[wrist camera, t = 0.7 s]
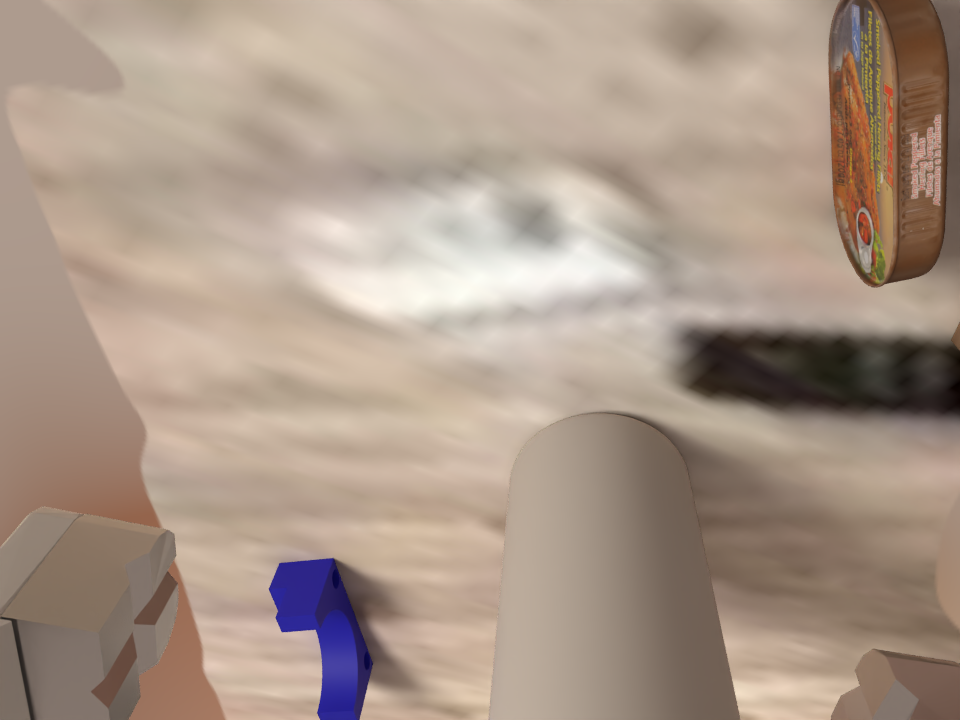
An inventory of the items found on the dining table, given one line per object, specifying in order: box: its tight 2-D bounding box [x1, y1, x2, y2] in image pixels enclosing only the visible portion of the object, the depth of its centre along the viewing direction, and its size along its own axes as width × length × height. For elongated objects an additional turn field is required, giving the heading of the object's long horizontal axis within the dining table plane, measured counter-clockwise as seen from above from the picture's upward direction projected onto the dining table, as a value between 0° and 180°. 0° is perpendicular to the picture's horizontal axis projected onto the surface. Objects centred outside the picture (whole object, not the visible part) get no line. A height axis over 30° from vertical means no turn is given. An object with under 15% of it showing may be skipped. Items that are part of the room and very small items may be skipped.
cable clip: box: [269, 558, 373, 720], centre depth 66 cm, size 12×4×6 cm, turn 11°
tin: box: [829, 0, 949, 288], centre depth 42 cm, size 15×3×8 cm, turn 13°
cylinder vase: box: [489, 413, 740, 720], centre depth 49 cm, size 12×12×25 cm
